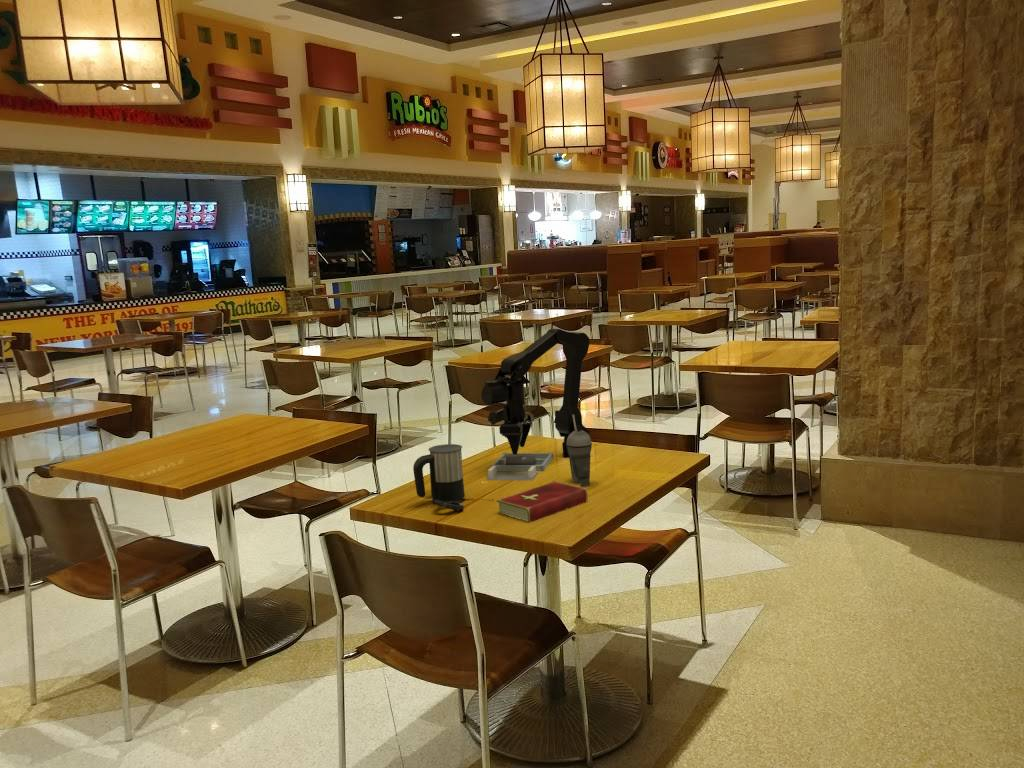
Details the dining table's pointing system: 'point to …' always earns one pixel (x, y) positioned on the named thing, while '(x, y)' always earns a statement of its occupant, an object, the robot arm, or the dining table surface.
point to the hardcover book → (542, 501)
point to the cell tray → (541, 463)
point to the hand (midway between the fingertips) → (518, 450)
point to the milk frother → (442, 475)
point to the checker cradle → (511, 474)
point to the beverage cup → (579, 455)
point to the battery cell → (520, 460)
